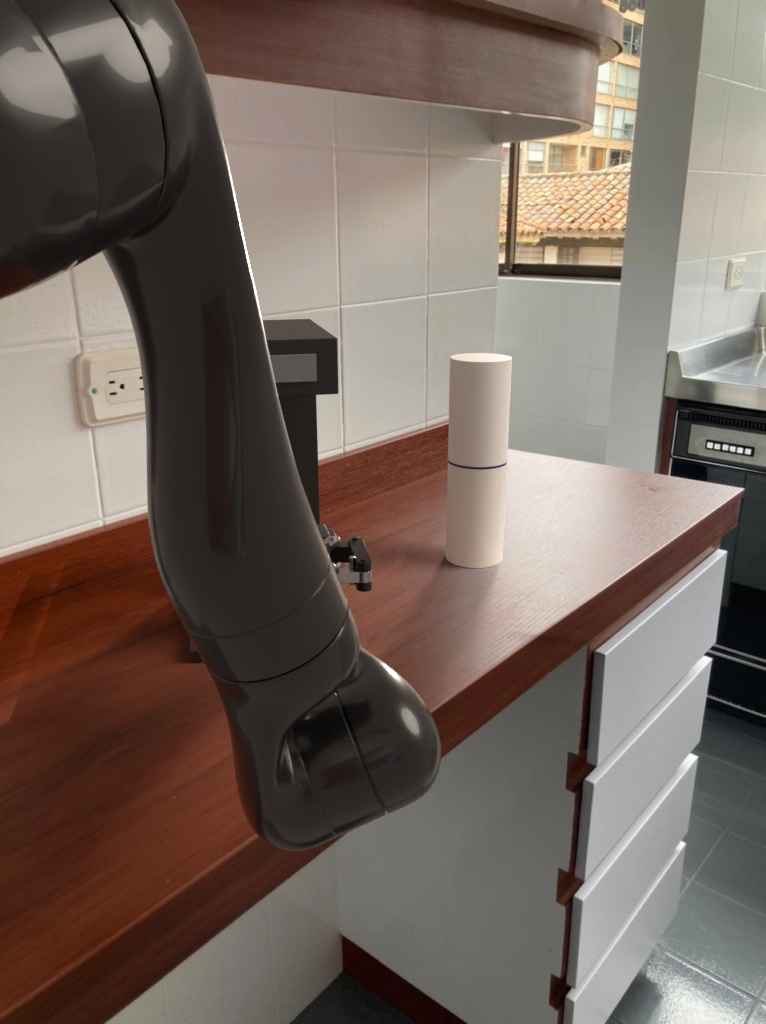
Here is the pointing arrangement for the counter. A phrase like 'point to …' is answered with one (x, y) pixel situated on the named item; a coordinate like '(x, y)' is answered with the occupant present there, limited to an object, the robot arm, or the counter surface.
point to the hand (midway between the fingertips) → (272, 538)
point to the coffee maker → (300, 395)
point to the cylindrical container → (477, 458)
